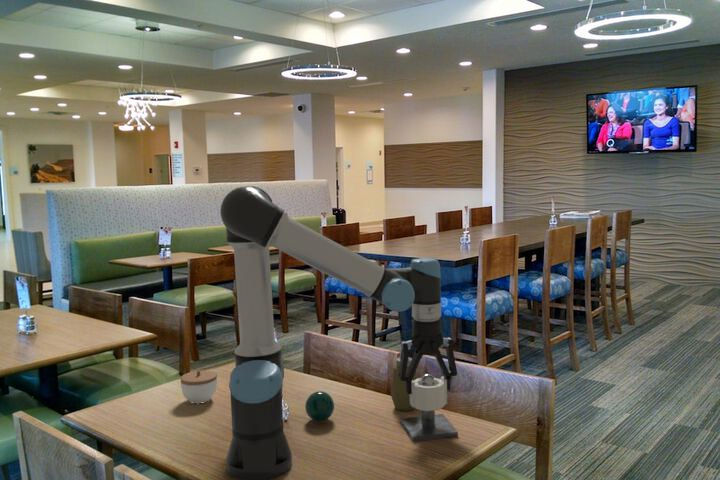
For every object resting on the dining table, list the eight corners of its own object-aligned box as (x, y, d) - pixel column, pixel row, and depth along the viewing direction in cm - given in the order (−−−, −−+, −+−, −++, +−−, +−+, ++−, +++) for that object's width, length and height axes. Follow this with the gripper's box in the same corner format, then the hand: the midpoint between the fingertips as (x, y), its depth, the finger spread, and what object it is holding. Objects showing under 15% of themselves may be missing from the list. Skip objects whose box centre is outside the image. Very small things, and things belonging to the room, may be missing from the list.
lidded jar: (188, 394, 187) (186, 365, 186) (222, 394, 186) (220, 364, 185) (176, 407, 176) (174, 376, 175) (212, 407, 176) (210, 376, 175)
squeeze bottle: (417, 413, 167) (416, 351, 165) (389, 412, 168) (387, 350, 166) (420, 403, 174) (419, 343, 173) (393, 401, 176) (392, 342, 174)
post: (412, 441, 149) (411, 383, 148) (400, 422, 161) (399, 369, 159) (457, 436, 151) (457, 379, 150) (442, 418, 163) (442, 365, 162)
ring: (418, 411, 151) (417, 389, 150) (409, 400, 158) (409, 379, 158) (448, 408, 152) (447, 386, 152) (438, 397, 160) (437, 376, 159)
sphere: (324, 412, 169) (323, 385, 169) (340, 421, 163) (339, 392, 162) (300, 419, 165) (299, 391, 164) (315, 428, 158) (314, 399, 157)
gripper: (391, 324, 148) (393, 413, 150) (470, 318, 151) (471, 405, 154) (384, 318, 155) (386, 402, 157) (459, 312, 159) (461, 395, 161)
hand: (428, 403), depth 155 cm, fingers closed on ring, 8 cm apart
